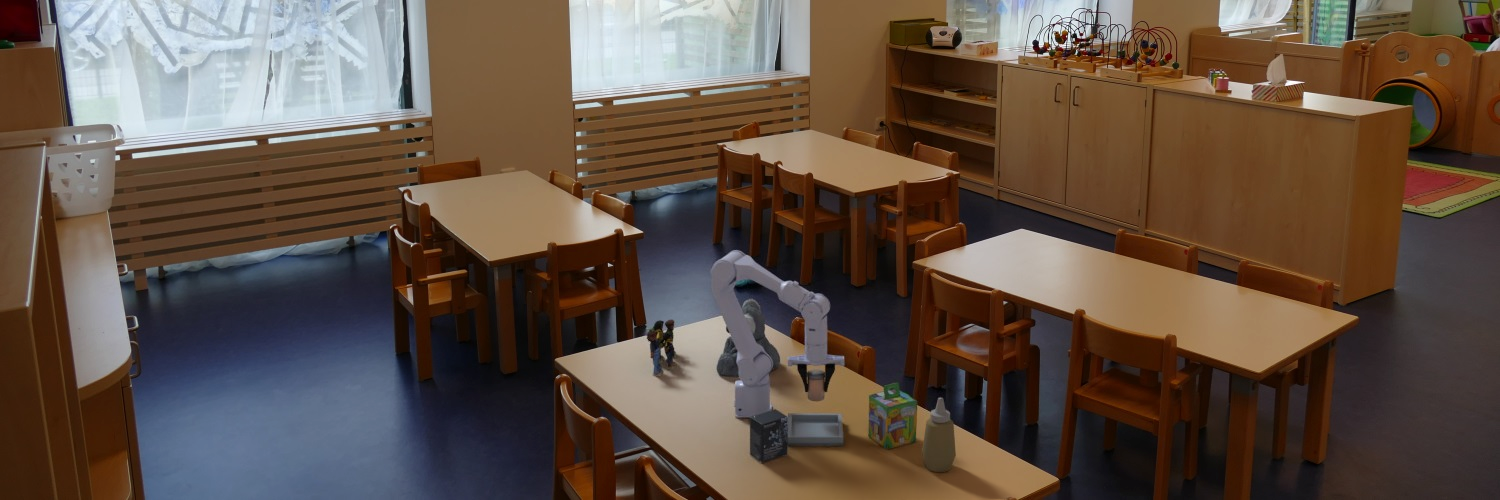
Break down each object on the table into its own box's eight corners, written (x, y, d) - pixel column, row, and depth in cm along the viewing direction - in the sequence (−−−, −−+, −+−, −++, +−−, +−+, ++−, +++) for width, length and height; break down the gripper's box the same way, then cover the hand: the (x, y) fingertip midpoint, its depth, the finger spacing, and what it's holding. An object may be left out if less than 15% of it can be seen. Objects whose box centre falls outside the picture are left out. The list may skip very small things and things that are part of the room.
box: (762, 463, 286) (761, 424, 283) (749, 455, 290) (748, 416, 287) (788, 455, 290) (788, 416, 287) (775, 446, 294) (775, 408, 291)
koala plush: (724, 354, 353) (723, 293, 348) (783, 357, 351) (783, 295, 345) (714, 377, 337) (713, 313, 331) (777, 380, 334) (776, 315, 329)
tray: (787, 445, 295) (787, 437, 294) (788, 421, 308) (787, 413, 307) (843, 446, 294) (843, 437, 293) (841, 421, 307) (841, 413, 307)
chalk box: (887, 450, 291) (888, 395, 287) (866, 436, 299) (867, 382, 295) (917, 442, 295) (919, 388, 291) (896, 428, 303) (898, 375, 299)
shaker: (807, 401, 304) (807, 376, 302) (807, 394, 308) (807, 369, 306) (825, 401, 303) (825, 376, 301) (824, 394, 308) (824, 369, 306)
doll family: (679, 378, 336) (678, 335, 332) (648, 380, 335) (646, 337, 332) (675, 349, 358) (674, 308, 354) (646, 350, 357) (644, 309, 353)
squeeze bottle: (918, 460, 286) (920, 392, 281) (950, 458, 287) (953, 390, 281) (925, 476, 278) (927, 406, 273) (959, 474, 279) (961, 404, 274)
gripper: (787, 347, 297) (788, 397, 301) (845, 347, 297) (844, 396, 301) (787, 337, 304) (788, 386, 308) (843, 337, 304) (843, 385, 308)
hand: (816, 390), depth 305 cm, fingers closed on shaker, 4 cm apart
